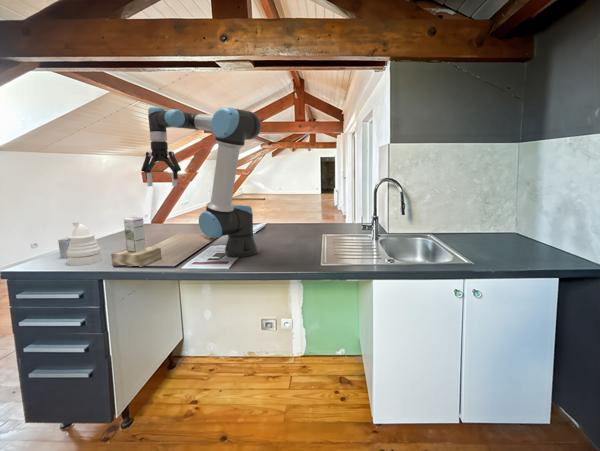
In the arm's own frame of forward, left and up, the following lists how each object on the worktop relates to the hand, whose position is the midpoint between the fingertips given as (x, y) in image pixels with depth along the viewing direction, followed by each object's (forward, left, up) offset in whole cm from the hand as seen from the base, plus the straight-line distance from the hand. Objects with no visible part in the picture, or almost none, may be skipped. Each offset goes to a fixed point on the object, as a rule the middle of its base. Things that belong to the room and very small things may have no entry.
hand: (162, 186), depth 173 cm
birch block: (-1, +23, -32) cm, 39 cm away
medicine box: (+38, +20, -32) cm, 54 cm away
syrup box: (-1, +23, -27) cm, 35 cm away
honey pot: (+23, +27, -32) cm, 48 cm away
